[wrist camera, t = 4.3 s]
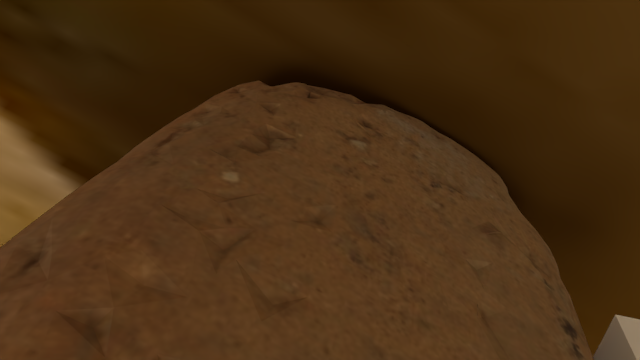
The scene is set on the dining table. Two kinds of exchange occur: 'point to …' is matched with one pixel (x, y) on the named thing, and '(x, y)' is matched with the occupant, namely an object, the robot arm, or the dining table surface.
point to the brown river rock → (287, 246)
